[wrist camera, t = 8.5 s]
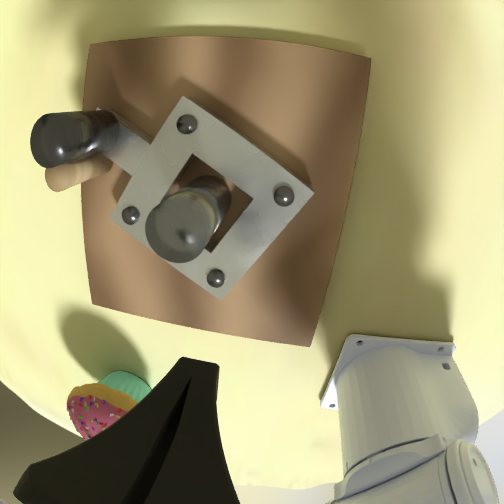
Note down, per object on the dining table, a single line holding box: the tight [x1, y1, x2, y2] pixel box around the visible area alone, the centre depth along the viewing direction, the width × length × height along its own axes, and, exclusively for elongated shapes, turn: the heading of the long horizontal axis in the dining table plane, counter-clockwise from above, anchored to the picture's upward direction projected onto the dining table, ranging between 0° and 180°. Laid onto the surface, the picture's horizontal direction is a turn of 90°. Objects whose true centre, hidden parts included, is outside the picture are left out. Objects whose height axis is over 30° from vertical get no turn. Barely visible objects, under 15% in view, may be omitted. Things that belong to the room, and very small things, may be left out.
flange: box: [30, 96, 314, 301], centre depth 14 cm, size 12×8×6 cm, turn 53°
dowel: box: [45, 153, 113, 192], centre depth 15 cm, size 2×2×4 cm
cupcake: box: [67, 371, 151, 440], centre depth 21 cm, size 9×8×12 cm
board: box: [81, 36, 371, 347], centre depth 18 cm, size 16×18×1 cm
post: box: [145, 175, 231, 263], centre depth 15 cm, size 3×3×6 cm
